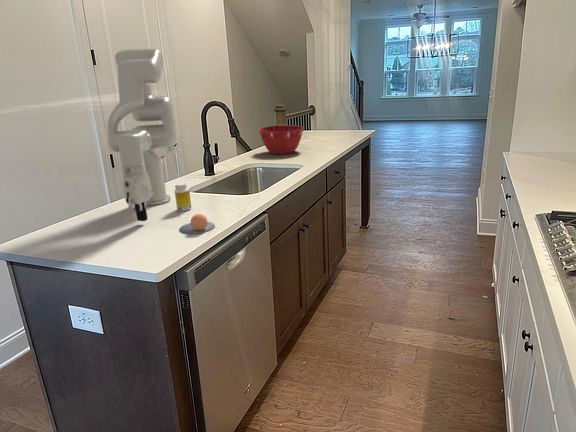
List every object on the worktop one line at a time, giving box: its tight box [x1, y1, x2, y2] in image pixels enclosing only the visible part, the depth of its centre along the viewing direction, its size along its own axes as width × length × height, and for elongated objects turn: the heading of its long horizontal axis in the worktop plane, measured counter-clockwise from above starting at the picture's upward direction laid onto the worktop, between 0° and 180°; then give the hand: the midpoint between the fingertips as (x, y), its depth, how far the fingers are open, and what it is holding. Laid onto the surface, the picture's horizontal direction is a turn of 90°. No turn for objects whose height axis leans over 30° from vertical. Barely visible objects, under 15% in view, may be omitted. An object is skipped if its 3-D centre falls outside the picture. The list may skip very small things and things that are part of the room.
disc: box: [178, 221, 216, 235], centre depth 150 cm, size 12×12×1 cm
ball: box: [190, 213, 209, 231], centre depth 147 cm, size 6×6×6 cm
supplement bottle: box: [174, 182, 192, 212], centre depth 171 cm, size 6×6×10 cm
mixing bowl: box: [258, 124, 304, 155], centre depth 278 cm, size 28×28×15 cm
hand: (142, 220), depth 157 cm, fingers closed
